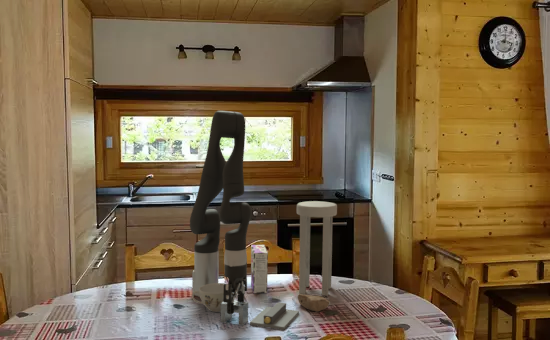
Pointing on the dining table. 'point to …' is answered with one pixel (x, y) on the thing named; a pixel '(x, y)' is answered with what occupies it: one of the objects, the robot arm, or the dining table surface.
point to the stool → (306, 212)
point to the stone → (313, 302)
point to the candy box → (259, 268)
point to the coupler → (275, 317)
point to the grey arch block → (235, 311)
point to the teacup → (211, 296)
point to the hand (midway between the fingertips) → (235, 309)
